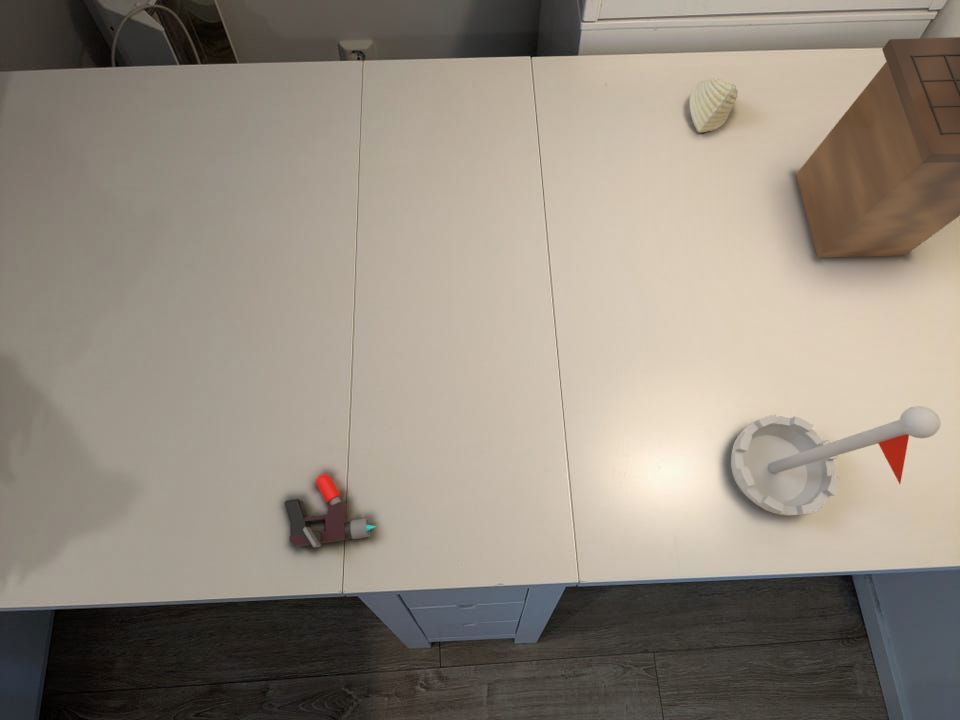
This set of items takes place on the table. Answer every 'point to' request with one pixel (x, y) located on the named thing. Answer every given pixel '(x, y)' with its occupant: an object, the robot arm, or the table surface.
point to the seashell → (711, 103)
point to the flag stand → (812, 458)
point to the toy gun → (334, 520)
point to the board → (890, 157)
